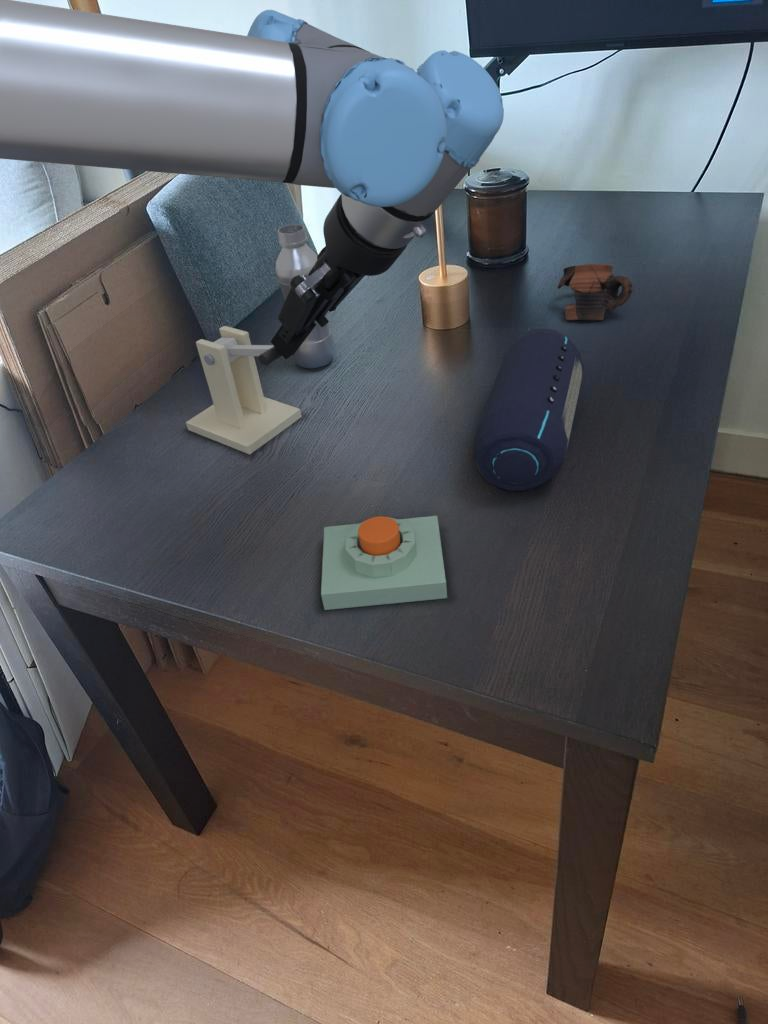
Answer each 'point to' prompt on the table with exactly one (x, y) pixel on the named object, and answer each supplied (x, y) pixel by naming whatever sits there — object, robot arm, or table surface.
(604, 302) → the pottery mug
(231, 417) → the bracket
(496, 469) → the portable speaker
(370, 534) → the button
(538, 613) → the table surface
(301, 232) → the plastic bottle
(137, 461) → the table surface
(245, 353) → the lever
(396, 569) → the button block
